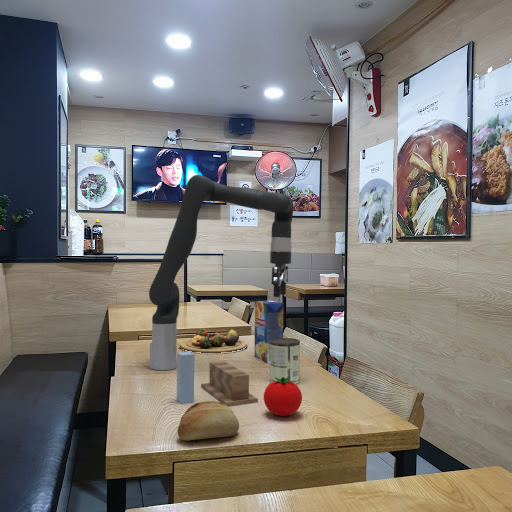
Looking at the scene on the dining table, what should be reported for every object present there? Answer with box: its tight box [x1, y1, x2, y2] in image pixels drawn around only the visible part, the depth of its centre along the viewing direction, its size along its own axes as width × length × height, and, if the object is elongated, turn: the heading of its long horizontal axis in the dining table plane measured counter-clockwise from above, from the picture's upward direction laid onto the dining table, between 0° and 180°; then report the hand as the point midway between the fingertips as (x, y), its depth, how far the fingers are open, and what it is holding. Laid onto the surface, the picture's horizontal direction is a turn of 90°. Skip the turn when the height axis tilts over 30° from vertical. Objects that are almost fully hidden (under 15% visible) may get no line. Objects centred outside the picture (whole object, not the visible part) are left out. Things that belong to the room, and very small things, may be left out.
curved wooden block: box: [200, 360, 259, 407], centre depth 145 cm, size 22×10×8 cm, turn 26°
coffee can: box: [269, 337, 301, 385], centre depth 161 cm, size 10×10×14 cm
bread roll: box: [177, 400, 240, 442], centre depth 111 cm, size 10×15×8 cm, turn 115°
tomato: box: [263, 377, 303, 417], centre depth 126 cm, size 10×10×10 cm
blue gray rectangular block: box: [176, 351, 195, 405], centre depth 138 cm, size 4×4×14 cm
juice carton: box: [254, 300, 284, 364], centre depth 195 cm, size 12×8×24 cm, turn 25°
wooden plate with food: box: [179, 327, 248, 353], centre depth 221 cm, size 32×32×8 cm
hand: (279, 295), depth 167 cm, fingers open, 8 cm apart
